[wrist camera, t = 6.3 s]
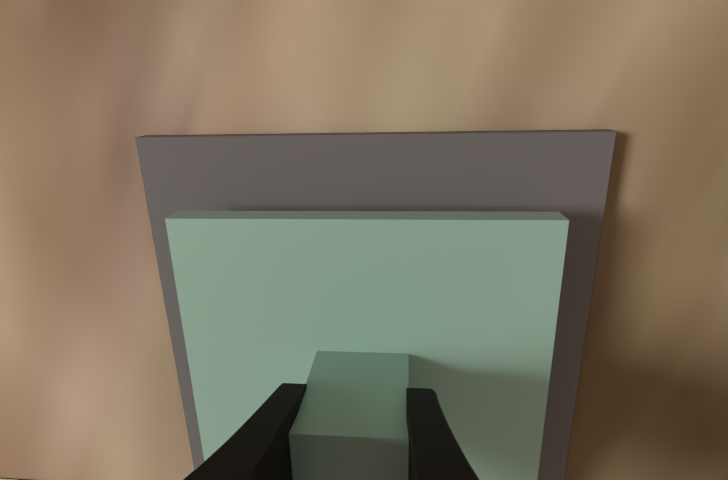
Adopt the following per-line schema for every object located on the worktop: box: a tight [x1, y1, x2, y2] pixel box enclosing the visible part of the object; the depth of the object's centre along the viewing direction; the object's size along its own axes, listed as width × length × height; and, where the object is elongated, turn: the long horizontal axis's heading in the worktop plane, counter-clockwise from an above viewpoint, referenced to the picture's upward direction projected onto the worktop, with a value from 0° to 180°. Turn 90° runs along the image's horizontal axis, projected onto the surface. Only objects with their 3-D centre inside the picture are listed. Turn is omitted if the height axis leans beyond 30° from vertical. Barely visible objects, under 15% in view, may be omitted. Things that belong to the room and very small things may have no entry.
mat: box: [135, 129, 616, 480], centre depth 15 cm, size 13×13×1 cm
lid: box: [165, 211, 569, 480], centre depth 12 cm, size 10×10×5 cm
